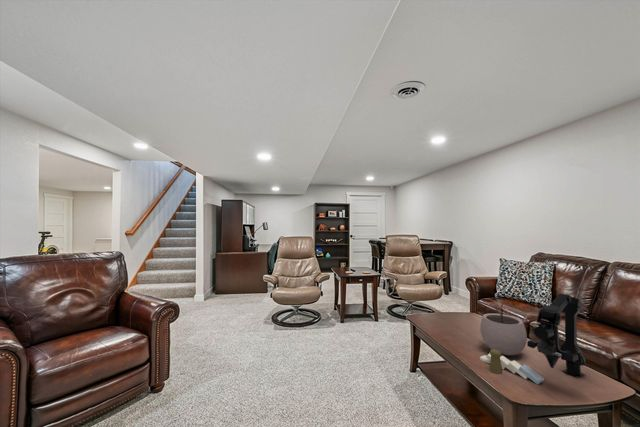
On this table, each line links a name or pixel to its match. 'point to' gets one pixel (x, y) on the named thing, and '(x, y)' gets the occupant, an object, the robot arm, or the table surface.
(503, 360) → the domino
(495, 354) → the olive green pawn
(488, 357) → the domino
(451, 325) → the table surface
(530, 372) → the domino
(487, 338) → the plant pot
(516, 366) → the domino
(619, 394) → the table surface
